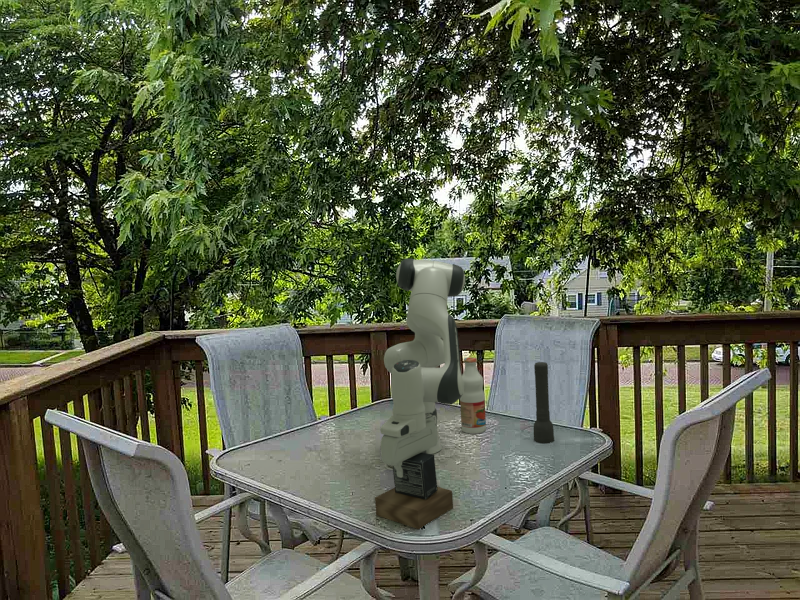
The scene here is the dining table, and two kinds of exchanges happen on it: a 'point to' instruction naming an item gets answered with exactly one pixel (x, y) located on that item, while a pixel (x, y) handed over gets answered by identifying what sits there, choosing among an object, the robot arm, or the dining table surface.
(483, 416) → the fruit juice
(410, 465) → the small box
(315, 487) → the dining table surface
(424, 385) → the robot arm
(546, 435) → the flashlight
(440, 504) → the stand
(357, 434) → the dining table surface
